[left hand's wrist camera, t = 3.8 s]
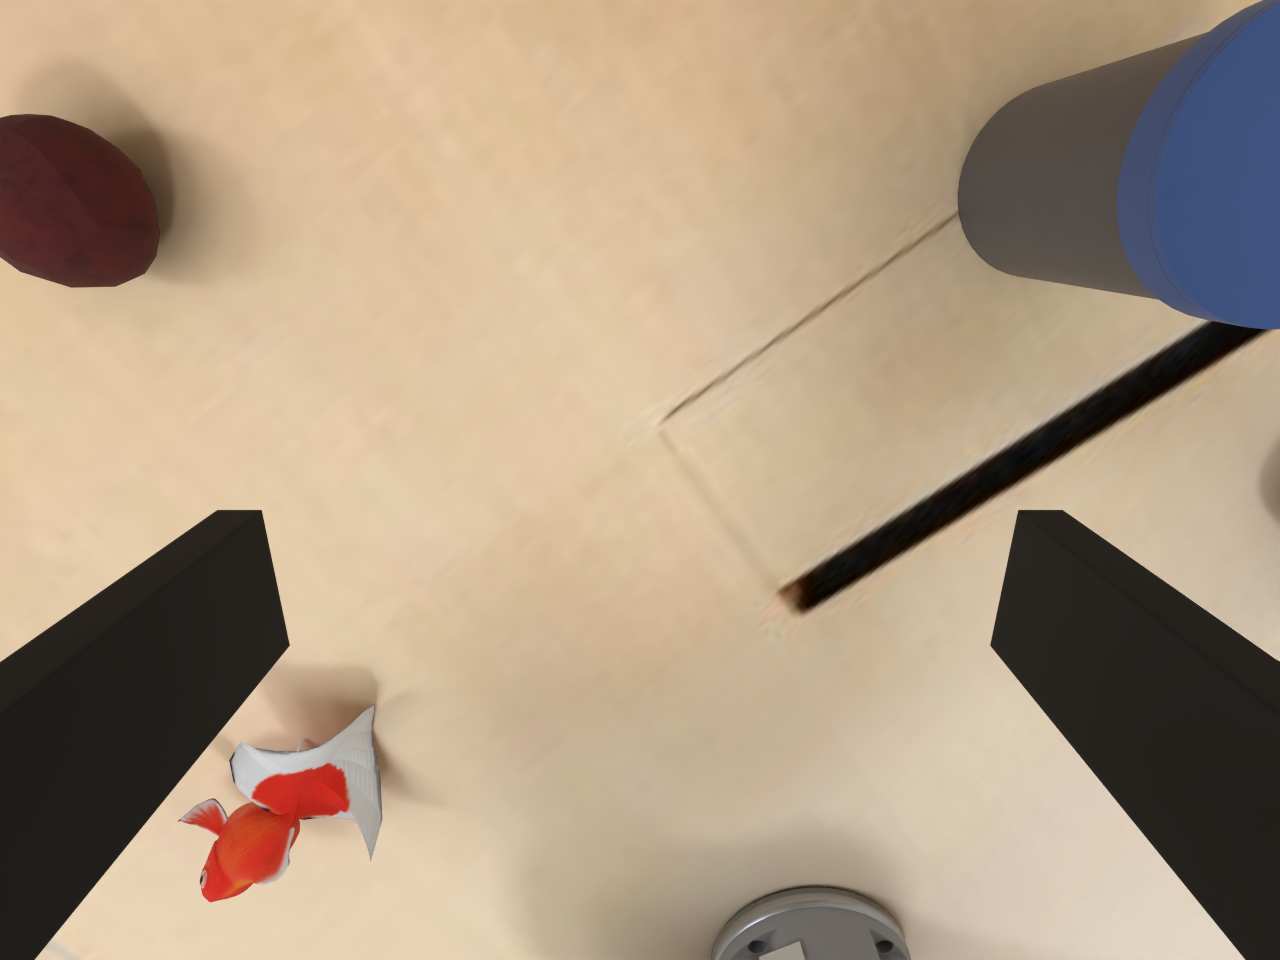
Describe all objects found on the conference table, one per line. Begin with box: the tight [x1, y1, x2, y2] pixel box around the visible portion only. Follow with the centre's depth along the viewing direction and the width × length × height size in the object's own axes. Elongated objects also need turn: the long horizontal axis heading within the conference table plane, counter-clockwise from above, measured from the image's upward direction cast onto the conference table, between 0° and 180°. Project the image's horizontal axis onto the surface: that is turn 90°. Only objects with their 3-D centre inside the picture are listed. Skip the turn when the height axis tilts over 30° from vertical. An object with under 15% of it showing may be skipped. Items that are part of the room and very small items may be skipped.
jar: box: [958, 32, 1208, 299], centre depth 29 cm, size 9×9×15 cm
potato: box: [0, 114, 160, 287], centre depth 33 cm, size 7×8×7 cm
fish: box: [178, 704, 382, 902], centre depth 45 cm, size 11×16×10 cm
